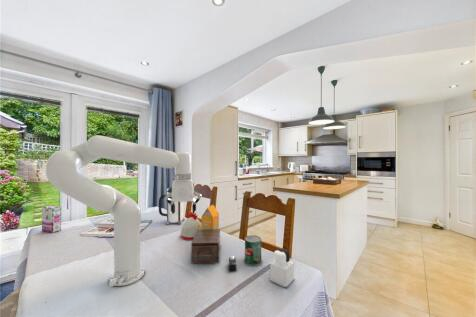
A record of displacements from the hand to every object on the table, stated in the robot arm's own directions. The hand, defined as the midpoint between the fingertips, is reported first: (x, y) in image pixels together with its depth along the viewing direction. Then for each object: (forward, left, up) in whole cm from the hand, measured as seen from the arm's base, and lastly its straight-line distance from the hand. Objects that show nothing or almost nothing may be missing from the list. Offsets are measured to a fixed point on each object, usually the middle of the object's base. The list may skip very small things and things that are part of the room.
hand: (183, 212), depth 96 cm
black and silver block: (-7, -24, -23) cm, 34 cm away
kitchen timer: (+30, +1, -23) cm, 38 cm away
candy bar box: (+43, +98, -23) cm, 110 cm away
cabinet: (+6, -11, -23) cm, 26 cm away
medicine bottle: (-18, -44, -23) cm, 52 cm away
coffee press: (+56, +20, -23) cm, 64 cm away
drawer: (+1, -11, -22) cm, 25 cm away
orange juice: (+25, -11, -23) cm, 36 cm away
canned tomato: (-3, -34, -23) cm, 41 cm away
